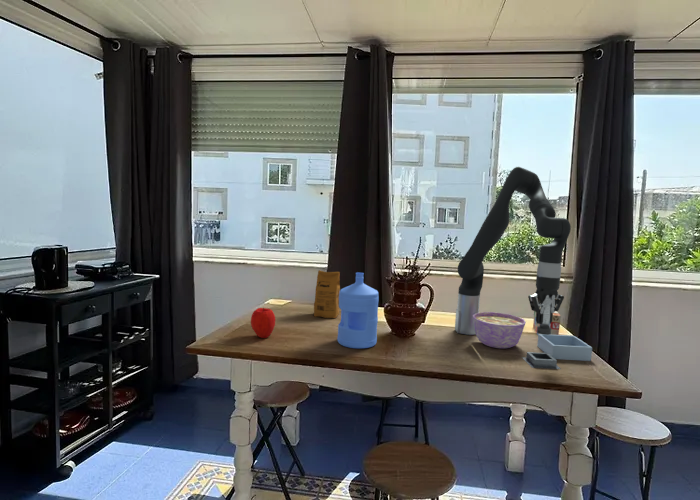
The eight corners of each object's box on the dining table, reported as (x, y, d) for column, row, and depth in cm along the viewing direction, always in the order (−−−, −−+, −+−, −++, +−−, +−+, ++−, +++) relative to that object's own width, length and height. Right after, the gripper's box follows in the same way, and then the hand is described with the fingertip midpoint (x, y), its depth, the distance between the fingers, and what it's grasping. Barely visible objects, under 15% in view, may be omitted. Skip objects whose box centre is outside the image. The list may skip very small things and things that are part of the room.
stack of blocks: (532, 328, 202) (534, 302, 200) (546, 329, 200) (549, 303, 199) (542, 342, 181) (544, 313, 180) (558, 343, 180) (560, 315, 178)
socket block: (531, 370, 149) (532, 360, 148) (521, 359, 159) (522, 350, 158) (561, 371, 148) (562, 362, 148) (549, 361, 158) (549, 352, 158)
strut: (534, 332, 152) (536, 294, 151) (542, 330, 155) (544, 293, 154) (545, 335, 148) (548, 296, 148) (553, 333, 151) (555, 295, 150)
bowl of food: (465, 337, 183) (467, 311, 182) (513, 339, 182) (515, 313, 181) (478, 354, 163) (480, 324, 162) (531, 356, 163) (534, 326, 161)
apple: (245, 336, 173) (245, 306, 172) (265, 331, 181) (266, 303, 179) (259, 342, 167) (260, 311, 165) (280, 337, 174) (280, 307, 172)
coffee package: (317, 311, 216) (318, 268, 213) (341, 314, 213) (343, 270, 210) (310, 316, 206) (312, 271, 204) (335, 319, 203) (337, 273, 201)
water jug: (356, 334, 182) (359, 268, 179) (384, 343, 171) (388, 274, 168) (329, 341, 171) (331, 271, 168) (357, 352, 160) (360, 278, 157)
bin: (551, 361, 158) (553, 345, 158) (537, 348, 172) (538, 333, 171) (590, 363, 158) (592, 347, 157) (572, 350, 172) (574, 335, 171)
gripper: (556, 273, 155) (552, 319, 157) (524, 273, 151) (519, 321, 153) (573, 276, 148) (567, 325, 150) (539, 277, 144) (534, 327, 146)
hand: (543, 322), depth 152 cm, fingers closed on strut, 3 cm apart
